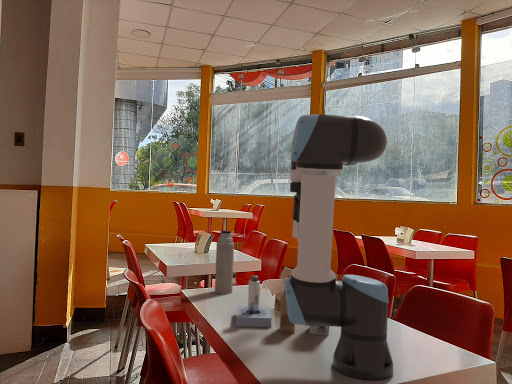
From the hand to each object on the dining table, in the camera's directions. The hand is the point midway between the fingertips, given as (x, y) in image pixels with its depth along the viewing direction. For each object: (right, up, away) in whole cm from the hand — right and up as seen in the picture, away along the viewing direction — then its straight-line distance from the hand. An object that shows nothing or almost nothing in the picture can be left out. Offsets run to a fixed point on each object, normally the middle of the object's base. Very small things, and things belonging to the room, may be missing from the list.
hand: (298, 239), depth 149 cm
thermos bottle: (-31, -29, +35) cm, 54 cm away
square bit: (-6, -28, -17) cm, 33 cm away
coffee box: (+5, -29, -15) cm, 33 cm away
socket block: (-17, -28, -7) cm, 33 cm away
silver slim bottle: (-17, -28, -7) cm, 33 cm away
